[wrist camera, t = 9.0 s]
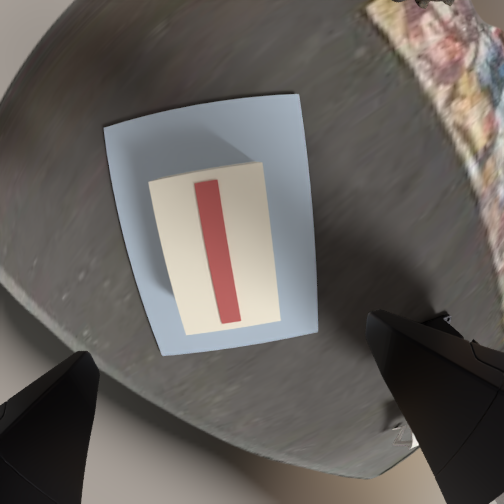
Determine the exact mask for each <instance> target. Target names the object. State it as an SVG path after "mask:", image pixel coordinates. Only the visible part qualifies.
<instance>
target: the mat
mask: <svg viewBox="0 0 504 504" xmlns="http://www.w3.org/2000/svg"><path fill="white" fill-rule="evenodd" d="M104 135H105V143H106V150H107V157H108V163H109V169H110V175H111V180H112V186H113V191H114V196H115V201H116V206H117V210H118V215H119V219H120V223H121V228H122V232H123V236H124V240H125V244H126V247H127V251H128V255H129V259H130V262H131V266H132V269H133V273H134V276H135V279H136V283H137V286H138V289H139V292H140V295H141V298H142V301H143V304H144V307H145V310H146V313H147V316H148V319H149V322H150V325H151V327H152V330H153V333H154V336H155V338H156V341H157V343H158V346H159V349H160V351H161V354H162V356H167V355H178V354H187V353H196V352H205V351H212V350H220V349H227V348H234V347H240V346H247V345H253V344H259V343H264V342H270V341H276V340H281V339H286V338H291V337H296V336H301V335H306V334H310V333H315V332H318V303H317V274H316V254H315V238H314V223H313V210H312V199H311V188H310V177H309V168H308V159H307V150H306V142H305V134H304V126H303V119H302V112H301V105H300V98H299V94H287V95H271V96H259V97H249V98H240V99H232V100H224V101H217V102H211V103H205V104H199V105H193V106H188V107H183V108H178V109H173V110H168V111H164V112H160V113H155V114H151V115H147V116H143V117H139V118H136V119H132V120H128V121H125V122H121V123H118V124H115V125H112V126H108V127H105V128H104ZM253 161H256V162H263V170H264V178H265V185H266V193H267V201H268V209H269V218H270V226H271V235H272V243H273V252H274V261H275V270H276V279H277V288H278V298H279V308H280V318H281V321H277V322H271V323H266V324H260V325H254V326H248V327H242V328H235V329H229V330H222V331H215V332H208V333H200V334H193V335H186V333H185V330H184V327H183V324H182V320H181V317H180V314H179V310H178V307H177V303H176V300H175V296H174V292H173V289H172V285H171V281H170V278H169V274H168V270H167V266H166V262H165V258H164V254H163V250H162V245H161V241H160V237H159V232H158V228H157V223H156V219H155V214H154V209H153V204H152V199H151V194H150V188H149V183H148V182H150V181H152V180H155V179H158V178H161V177H165V176H170V175H175V174H180V173H185V172H190V171H196V170H201V169H207V168H213V167H219V166H225V165H232V164H239V163H246V162H253Z"/></svg>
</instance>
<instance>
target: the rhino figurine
mask: <svg viewBox="0 0 504 504" xmlns="http://www.w3.org/2000/svg"><path fill="white" fill-rule="evenodd" d="M392 1H394V2H402V1H406V0H392ZM415 1H416V2H417V4H418V6H419V7H421V8H424V9H425V8H426V7H427V5H428V3H429V2H430V1H443V2H444V3H445V4H448V5H449V6H451V5H452V4H453V1H454V0H415Z"/></svg>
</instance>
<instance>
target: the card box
mask: <svg viewBox="0 0 504 504" xmlns="http://www.w3.org/2000/svg"><path fill="white" fill-rule="evenodd" d="M148 183H149V188H150V194H151V199H152V204H153V209H154V214H155V219H156V223H157V228H158V232H159V237H160V241H161V245H162V250H163V254H164V258H165V262H166V266H167V270H168V274H169V278H170V281H171V285H172V289H173V292H174V296H175V300H176V303H177V307H178V310H179V314H180V317H181V320H182V324H183V327H184V330H185V333H186V335H193V334H200V333H208V332H215V331H222V330H229V329H235V328H242V327H248V326H254V325H260V324H266V323H271V322H277V321H281V318H280V308H279V298H278V288H277V279H276V270H275V261H274V252H273V243H272V235H271V226H270V218H269V209H268V201H267V193H266V185H265V178H264V170H263V162H256V161H253V162H246V163H239V164H232V165H225V166H219V167H213V168H207V169H201V170H196V171H190V172H185V173H180V174H175V175H170V176H165V177H161V178H158V179H155V180H152V181H150V182H148Z"/></svg>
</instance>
